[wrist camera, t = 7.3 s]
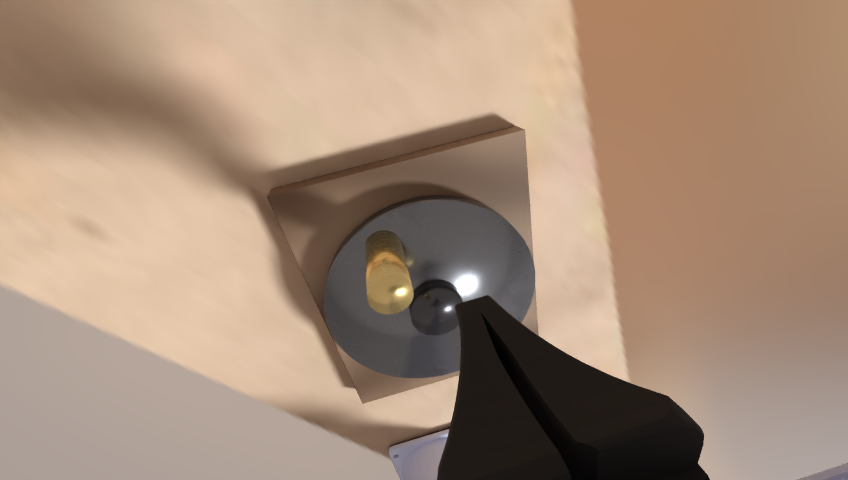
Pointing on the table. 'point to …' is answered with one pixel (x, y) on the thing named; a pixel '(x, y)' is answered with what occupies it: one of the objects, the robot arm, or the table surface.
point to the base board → (391, 183)
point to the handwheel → (422, 282)
